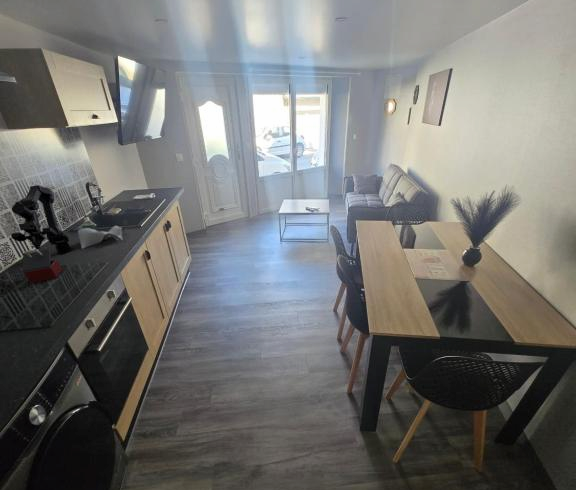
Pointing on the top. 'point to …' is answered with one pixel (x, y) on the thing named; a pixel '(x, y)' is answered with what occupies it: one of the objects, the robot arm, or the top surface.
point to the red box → (44, 272)
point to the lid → (36, 259)
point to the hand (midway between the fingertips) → (37, 249)
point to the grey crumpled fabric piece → (97, 235)
